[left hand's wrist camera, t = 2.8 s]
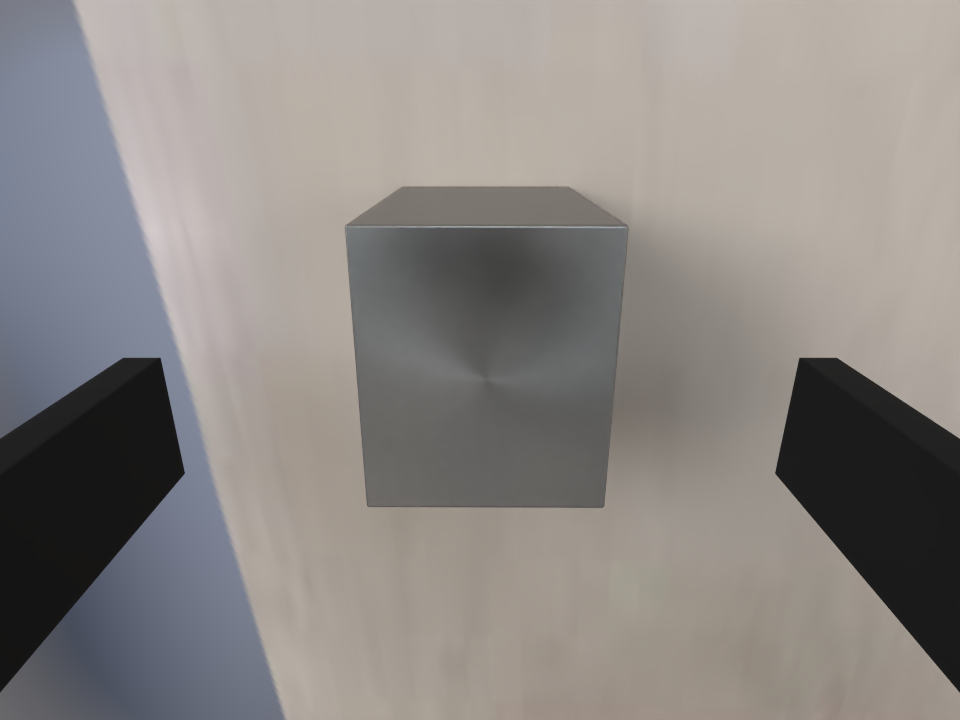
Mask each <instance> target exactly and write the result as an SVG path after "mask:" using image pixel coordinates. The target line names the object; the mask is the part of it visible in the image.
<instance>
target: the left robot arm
mask: <svg viewBox="0 0 960 720" xmlns="http://www.w3.org/2000/svg"><path fill="white" fill-rule="evenodd" d="M184 474H185V472H184V467H183V462H182V458H181V453H180V448H179V444H178V439H177V434H176V429H175V425H174V420H173V415H172V410H171V406H170V401H169V396H168V391H167V386H166V382H165V377H164V372H163V368H162V363H161V358H122V359H121V360H119V361H118V362H116V363H115V364H113V365H112V366H110V367H109V368H107V369H106V370H104V371H103V372H101V373H100V374H98V375H97V376H95V377H94V378H92V379H90V380H89V381H87V382H86V383H84V384H83V385H81V386H80V387H78V388H77V389H75V390H74V391H72V392H71V393H69V394H68V395H66V396H65V397H63V398H62V399H60V400H59V401H57V402H55V403H54V404H52V405H51V406H49V407H48V408H46V409H45V410H43V411H42V412H40V413H39V414H37V415H36V416H34V417H33V418H31V419H30V420H28V421H27V422H25V423H24V424H22V425H21V426H19V427H17V428H16V429H14V430H13V431H11V432H10V433H8V434H7V435H5V436H4V437H2V438H1V439H0V692H1V691H2V690H3V688H4V687H5V686H6V685H7V684H8V683H9V681H10V680H11V679H12V678H13V677H14V675H15V674H16V673H17V672H18V671H19V669H20V668H21V667H22V666H23V665H24V664H25V662H26V661H27V660H28V659H29V658H30V656H31V655H32V654H33V653H34V652H35V651H36V649H37V648H38V647H39V646H40V645H41V643H42V642H43V641H44V640H45V639H46V637H47V636H48V635H49V634H50V633H51V632H52V630H53V629H54V628H55V627H56V626H57V624H58V623H59V622H60V621H61V620H62V618H63V617H64V616H65V615H66V614H67V613H68V611H69V610H70V609H71V608H72V607H73V605H74V604H75V603H76V602H77V601H78V599H79V598H80V597H81V596H82V595H83V593H84V592H85V591H86V590H87V589H88V588H89V586H90V585H91V584H92V583H93V582H94V581H95V579H96V578H97V577H98V576H99V575H100V573H101V572H102V571H103V570H104V569H105V567H106V566H107V565H108V564H109V563H110V562H111V560H112V559H113V558H114V557H115V556H116V554H117V553H118V552H119V551H120V550H121V548H122V547H123V546H124V545H125V544H126V543H127V541H128V540H129V539H130V538H131V537H132V535H133V534H134V533H135V532H136V531H137V530H138V528H139V527H140V526H141V525H142V524H143V522H144V521H145V520H146V519H147V518H148V516H149V515H150V514H151V513H152V512H153V511H154V509H155V508H156V507H157V506H158V505H159V503H160V502H161V501H162V500H163V499H164V498H165V496H166V495H167V494H168V493H169V492H170V490H171V489H172V488H173V487H174V486H175V484H176V483H177V482H178V481H179V480H180V479H181V477H182V476H183V475H184ZM775 474H776V475H777V476H778V477H779V479H780V480H781V481H782V482H783V483H784V484H785V486H786V487H787V488H788V489H789V490H790V492H791V493H792V494H793V495H794V496H795V498H796V499H797V500H798V501H799V502H800V503H801V505H802V506H803V507H804V508H805V509H806V511H807V512H808V513H809V514H810V515H811V516H812V518H813V519H814V520H815V521H816V522H817V524H818V525H819V526H820V527H821V528H822V530H823V531H824V532H825V533H826V534H827V535H828V537H829V538H830V539H831V540H832V541H833V543H834V544H835V545H836V546H837V547H838V549H839V550H840V551H841V552H842V553H843V554H844V556H845V557H846V558H847V559H848V560H849V562H850V563H851V564H852V565H853V566H854V567H855V569H856V570H857V571H858V572H859V573H860V575H861V576H862V577H863V578H864V579H865V581H866V582H867V583H868V584H869V585H870V586H871V588H872V589H873V590H874V591H875V592H876V594H877V595H878V596H879V597H880V598H881V600H882V601H883V602H884V603H885V604H886V605H887V607H888V608H889V609H890V610H891V611H892V613H893V614H894V615H895V616H896V617H897V618H898V620H899V621H900V622H901V623H902V624H903V626H904V627H905V628H906V629H907V630H908V632H909V633H910V634H911V635H912V636H913V637H914V639H915V640H916V641H917V642H918V643H919V645H920V646H921V647H922V648H923V649H924V651H925V652H926V653H927V654H928V655H929V656H930V658H931V659H932V660H933V661H934V662H935V664H936V665H937V666H938V667H939V668H940V670H941V671H942V672H943V673H944V674H945V675H946V677H947V678H948V679H949V680H950V681H951V683H952V684H953V685H954V686H955V687H956V688H957V690H958V691H959V692H960V439H959V438H958V437H956V436H955V435H953V434H952V433H950V432H949V431H947V430H946V429H944V428H943V427H941V426H940V425H938V424H936V423H935V422H933V421H932V420H930V419H929V418H927V417H926V416H924V415H923V414H921V413H920V412H918V411H917V410H915V409H914V408H912V407H911V406H909V405H908V404H906V403H905V402H903V401H902V400H900V399H898V398H897V397H895V396H894V395H892V394H891V393H889V392H888V391H886V390H885V389H883V388H882V387H880V386H879V385H877V384H876V383H874V382H873V381H871V380H870V379H868V378H867V377H865V376H863V375H862V374H860V373H859V372H857V371H856V370H854V369H853V368H851V367H850V366H848V365H847V364H845V363H844V362H842V361H841V360H839V359H838V358H799V363H798V367H797V372H796V377H795V382H794V386H793V391H792V396H791V401H790V405H789V410H788V415H787V420H786V424H785V429H784V434H783V439H782V443H781V448H780V453H779V458H778V462H777V467H776V472H775Z"/></svg>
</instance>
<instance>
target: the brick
mask: <svg viewBox="0 0 960 720" xmlns="http://www.w3.org/2000/svg"><path fill="white" fill-rule="evenodd" d="M628 228H629V227H628V225H626V224H625V223H623V222H622V221H620V220H619V219H617V218H616V217H614V216H613V215H611V214H610V213H608V212H607V211H605V210H604V209H602V208H600V207H599V206H597V205H596V204H594V203H593V202H591V201H590V200H588V199H587V198H585V197H584V196H582V195H581V194H579V193H578V192H576V191H575V190H573V189H571V188H570V187H401V188H400V189H398V190H397V191H395V192H394V193H392V194H391V195H389V196H388V197H386V198H385V199H383V200H382V201H380V202H379V203H377V204H376V205H375V206H373V207H372V208H370V209H369V210H367V211H366V212H364V213H363V214H361V215H360V216H358V217H357V218H355V219H354V220H353V221H351V222H350V223H348V224H347V225H345V234H346V246H347V259H348V272H349V284H350V297H351V309H352V322H353V335H354V347H355V360H356V373H357V385H358V398H359V410H360V423H361V436H362V448H363V461H364V473H365V486H366V499H367V506H368V507H566V508H603V507H604V502H605V491H606V480H607V468H608V457H609V445H610V434H611V422H612V411H613V399H614V388H615V377H616V365H617V354H618V342H619V331H620V319H621V308H622V296H623V285H624V273H625V262H626V251H627V239H628Z"/></svg>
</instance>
